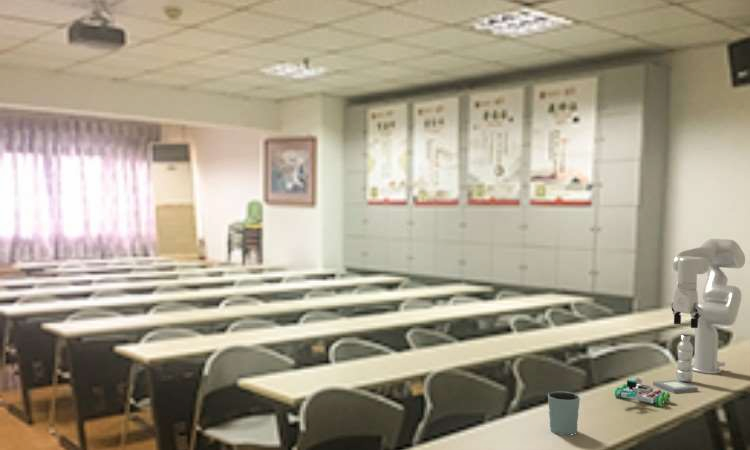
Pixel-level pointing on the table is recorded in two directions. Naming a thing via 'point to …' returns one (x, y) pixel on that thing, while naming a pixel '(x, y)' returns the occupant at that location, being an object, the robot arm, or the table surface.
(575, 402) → the grey blue cup
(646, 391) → the robot kit
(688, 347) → the plastic bottle
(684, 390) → the grey flat square slab
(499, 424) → the table surface
